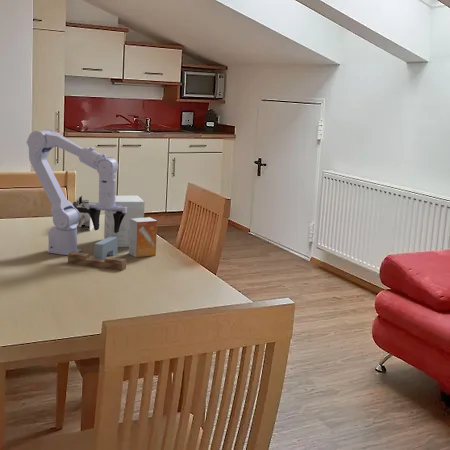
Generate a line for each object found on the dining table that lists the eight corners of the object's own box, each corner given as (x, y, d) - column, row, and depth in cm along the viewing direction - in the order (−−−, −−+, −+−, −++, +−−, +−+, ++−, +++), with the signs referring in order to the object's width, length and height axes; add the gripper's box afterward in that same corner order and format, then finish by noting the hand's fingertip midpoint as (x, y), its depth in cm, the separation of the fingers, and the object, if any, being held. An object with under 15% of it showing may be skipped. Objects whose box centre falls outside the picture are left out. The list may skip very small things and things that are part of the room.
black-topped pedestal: (61, 220, 282) (62, 190, 279) (121, 223, 281) (122, 193, 278) (42, 235, 255) (41, 201, 252) (108, 239, 254) (108, 206, 251)
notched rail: (67, 262, 218) (67, 253, 217) (72, 260, 221) (72, 251, 220) (122, 270, 213) (122, 261, 212) (126, 268, 216) (126, 258, 215)
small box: (136, 257, 229) (137, 221, 226) (128, 253, 234) (129, 218, 231) (156, 255, 233) (157, 220, 231) (148, 251, 238) (149, 216, 236)
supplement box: (137, 238, 256) (138, 195, 253) (143, 246, 244) (145, 201, 241) (103, 239, 252) (104, 195, 248) (108, 247, 240) (109, 201, 236)
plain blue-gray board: (94, 260, 222) (94, 243, 221) (109, 252, 234) (109, 236, 232) (102, 261, 222) (102, 244, 220) (117, 253, 233) (117, 237, 232)
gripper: (82, 192, 221) (82, 230, 224) (121, 196, 217) (120, 235, 220) (92, 189, 227) (91, 226, 230) (130, 193, 224) (129, 231, 227)
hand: (106, 231), depth 226 cm, fingers open, 7 cm apart
